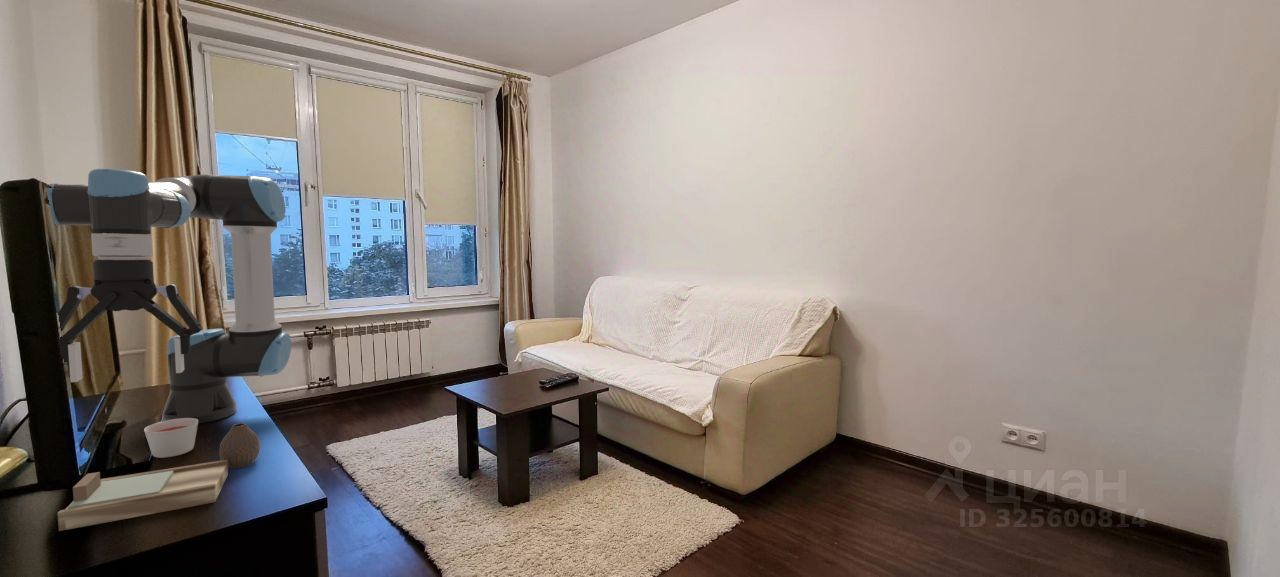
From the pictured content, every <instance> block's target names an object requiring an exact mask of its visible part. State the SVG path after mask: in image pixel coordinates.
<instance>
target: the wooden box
mask: <svg viewBox="0 0 1280 577" xmlns="http://www.w3.org/2000/svg"><path fill="white" fill-rule="evenodd" d="M167 471H174V474H173V475H172V476H171V478H170V479H169V481H168V482H167V484H166V485H165V487H164V488H163V489H162V491H161V492H160V493H158V494H152V495H146V496H140V497H134V498H129V499H123V500H117V501H111V502H105V503H100V504H94V505H88V506H82V507H76V508H70V509H67V507H66V508H65V509H61V510H59V511H58V512H57V522H58V523H57V524H58V531H59V532H62V531H67V530H73V529H77V528H84V527H89V526H93V525H100V524H105V523H109V522H116V521H120V520H121V521H122V520H125V519H126V520H127V519H132V518H137V517H143V516H147V515H153V514H154V515H155V514H159V513H164V512H168V511H173V510H181V509H186V508H191V507H195V506H202V505H206V504H211V503H212V504H213V503H216V501H217V500H218V497H219V494H220V492H221V491H222V489H223V486H224V485H225V482H226V479H227V477H228V475H229V467H228V462H227V460H222V461H221V460H217V461H211V462H204V463H198V464H197V463H196V464H191V465H190V464H189V465H184V466H178V467H171V468H164V469H159V470H158V469H157V470H151V471H145V472H139V473H133V474H132V473H131V474H126V475H125V474H124V475H118V476H112V477H106V478H100V480H101V482H103V481H109V480H115V479H122V478H128V477H135V476H141V475H147V474H154V473H160V472H167Z"/></svg>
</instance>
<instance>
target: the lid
mask: <svg viewBox="0 0 1280 577" xmlns="http://www.w3.org/2000/svg"><path fill="white" fill-rule="evenodd" d="M173 474H174V471H167V472H160V473H154V474H147V475H141V476H135V477H128V478H122V479H115V480H109V481H103V482H101V480H100V479H101V472H100V471H98V472H91V473H87V474H86V475H85V476H83V477H82V478H81V479H80V480H79V481H78V482H77V483H76V484H75V485H74V486H73V487H72V496H73V500H72V502H71V503H70V504H69V505H68V506H67V507H66V508H67V509H70V508H76V507H82V506H88V505H94V504H100V503H105V502H111V501H117V500H123V499H129V498H134V497H140V496H146V495H152V494H158V493H160V492H161V491H162V489H163V488H164V487H165V485H166V484H167V482H168V481H169V479H170V478H171V476H172V475H173Z"/></svg>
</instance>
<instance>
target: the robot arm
mask: <svg viewBox="0 0 1280 577" xmlns="http://www.w3.org/2000/svg"><path fill="white" fill-rule="evenodd" d="M87 178H88V180H87V184H59V183H46V184H47V185H49V186H51V187H53V188H54V189H53V188H48V189H47V190H46V192H47V196H48V200H49V204H50V208H51V212H52V216H53V220H54V223H55V224H56V225H57V226H91V227H90V228H91V230H90V231H91V233H90V237H91V238H90V239H91V248H92V249H91V251H92V256H93V257H97V259H94V261H92V269H93V286H92V287H83V286H81V285H75V286H74V285H73V286H70V287H68V288H67V292H66V299H65V301H64V303H63V305H62V306H61V308H60V309H59V311H58V312H57V314H58V315H59V322H60V328H61V331H62V332H63V331H64V329H65V327H66V326H67V324H68V322H69V321H70V319H71V318H72V316H73V315H74V313H75V312H76V311H77V308H78V307H79V306H80V304H81V303H82V300H85V299H87V297H88V296H89V295H91V296H92V297H93V298H95V299H96V300H97V301H98V302H97V303H96V304H95V305H94V306H93V307H92V308H91V309H90V310H89V311H88V312H87V313H86V314H85V315H84V316H83V317H82V318H80V320H78V321H77V322H76V323H75V324H74V325H72V327H71V328H69V329H68V331H66V332H65V333H64V334H61V337H60V340H59V344H58V346H59V355H61V356H62V358H63V359H64V363H65V364H66V363H67V364H68V365H69V380H70V383H78V382H79V381H80V380H82V379H84V378H83V364H82V363H83V362H82V349H81V341H79V342H78V341H75V340H76V338H78V337H79V336H80V335H81V334H83V332H84V331H85V330H87V328H89V327H90V326H91V325H92V324H93V323H95V321H96V320H97V319H98V318H100V317H101V316H102V315H103V314H104V313H105V312H107V311H108V310H109V311H112V312H121V311H125V310H126V311H139V310H141V309H143V310H145V311H146V312H148V313H150V315H152V316H154V317H155V318H157V320H159V321H160V322H161V323H163V324H164V325H165V326H166V327H168V328H169V330H171V331H172V332H174V333H175V334H176V335H174V336H172V337H171V338H169V340H168V342H167V350H166V351H167V352H166V356H167V368H168V380H169V394H168V397H167V400H166V401H165V402H166V403H165V405H164V408H163V411H162V415H161V417H162V421H167V420H172V419H180V418H194V419H197V420H198V425H200V424H204V423H210V422H215V421H218V420H221V419H224V418H227V417H230V416H232V415H234V414H235V413H236V412H237V404H236V403H237V402H236V401H235V399H234V396H233V395H232V393H231V391H230V389H229V387H228V384H227V383H228V382H227V381H228V380H227V378H237V377H239V378H240V377H243V378H244V377H265V376H274V375H278V374H280V373H282V371H283V370H284V369H285V368H286V366H287V364H288V362H289V359H290V357H291V356H290V355H291V352H292V339H291V336H290V335H291V334H289V333H288V332H285V331H283V330H282V329H283V327H282V324H280V323H279V322H278V321H276V319H275V318H276V316H275V300H274V298H275V295H274V294H275V293H274V279H273V277H274V275H273V256H272V253H273V252H272V235H271V234H272V233H273V232H274V231H276V230H277V229H278V223H279V222H283V220H284V219H285V217H286V215H285V214H286V203H285V198H284V195H283V192H282V190H281V189H280V186H279V185H278V184H277V183H276V182H275V181H274V179H273V180H272V179H271V178H269V177H260V176H254V175H227V174H226V175H225V174H224V175H222V174H221V175H220V174H205V173H204V174H194V175H193V174H191V175H185V176H176V177H175V176H174V177H162V178H159V179H157V180H155V181H153V182H149V180H148V179H149V178H148V177H147V175H146V174H145V173H142V172H139V171H134V170H128V169H127V170H125V169H111V168H96V169H92V170H90V171H89V173H88V177H87ZM190 218H196V219H206V220H218V221H219V220H222V227H223V228H224V229H225V230H227V231H228V233H230V239H231V241H230V243H231V256H232V257H231V260H232V261H231V262H232V277H233V278H232V279H233V295H234V296H233V298H234V316H235V317H234V318H235V323H234V324H233V325H231V326H230V328H228V334H227V333H226V331H225V330H224V328H210V329H203V326H202V325H201V323H200V322H199V320H197V318H196V317H195V316H194V314H193V313H192V311H191V310H190V308H189V307H188V306H187V304H186V303H185V302H184V300H183V299H182V297H181V296H180V294H179V292H180V291H179V288H178V285H177V284H175V283H172V284H168V285H161V286H157V285H156V283H155V277H154V276H155V275H154V263H153V261H152V260H151V259H149V257H152V256H153V242H152V231H151V229H152V228H159V229H170V228H177V227H181V226H183V225H184V224H186V223H187V222H188V220H189V219H190ZM55 224H54V225H55ZM158 293H159V294H161V295H162V296H163V297H164V298H168V300H169V302H170V304H171V305H172V306H173V307H174V309H175V310H176V312H177V313H178V314H179V315H180V318H181V319H182V320H183V321H184V323H185V324H186V325H187V327H188V328H187V327H186V326H184V324H182V323H181V322H179V321H178V320H177V319H176V318H174V317H173V316H172V315H171V314H169V312H167V311H166V310H165V309H163V308H162V307H161V306H160V305H159V304H158V303H157V302H156V301H155V300H153V298H154V297H155V296H156V295H157V294H158ZM225 333H226V334H225ZM74 341H75V342H74ZM61 356H60V357H61Z"/></svg>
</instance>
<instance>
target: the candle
mask: <svg viewBox="0 0 1280 577" xmlns="http://www.w3.org/2000/svg"><path fill="white" fill-rule="evenodd" d="M198 425H199V424H198V420H197V419H194V418H180V419H172V420H167V421H163V420H162V421H159V422H155V423H152V424H150V425H147V426H146V427H144V429H143V432H144V433H145V435H144V436H145V437H146V440H147V443H148V446H149V449H150V452H151V455H152V456H153V457H154V458H157V459H159V458H160V459H162V458H163V459H165V458H171V457H176V456H180V455H183V454H186V453H188V452H191V451H192V450H193V449H194V447H195V443H196V437H197V432H198V431H197V430H198Z"/></svg>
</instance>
